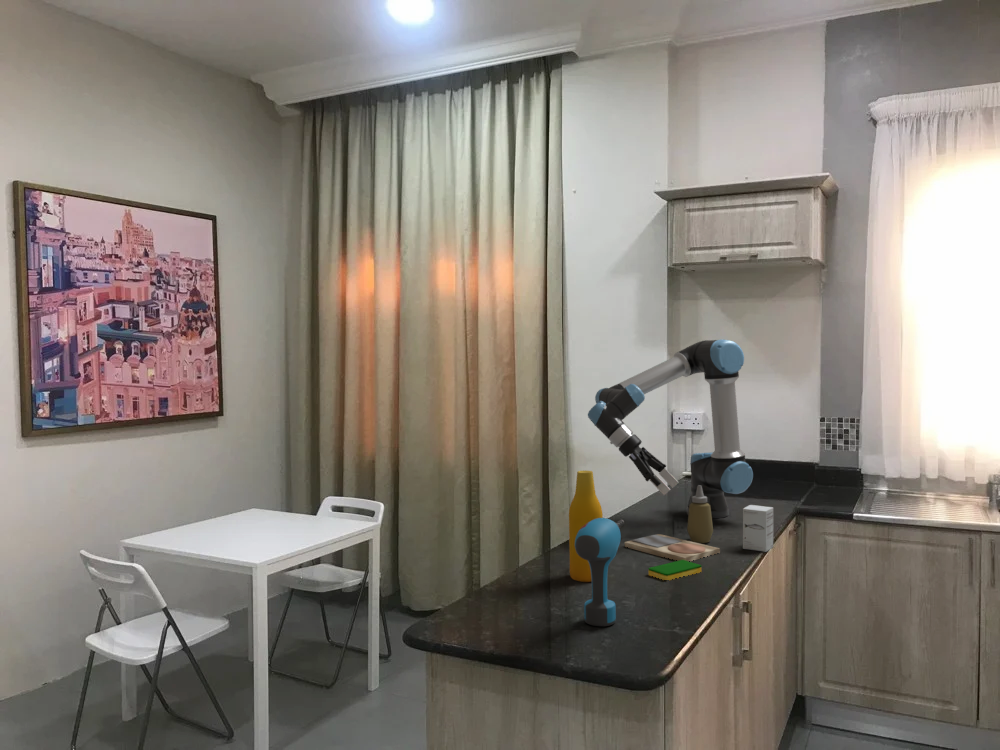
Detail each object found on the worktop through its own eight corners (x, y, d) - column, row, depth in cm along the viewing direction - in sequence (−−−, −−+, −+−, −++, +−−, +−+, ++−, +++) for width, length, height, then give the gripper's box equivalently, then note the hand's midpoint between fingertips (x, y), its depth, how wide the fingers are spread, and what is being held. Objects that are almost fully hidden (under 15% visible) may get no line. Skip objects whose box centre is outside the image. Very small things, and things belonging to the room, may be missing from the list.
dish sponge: (647, 576, 209) (647, 567, 209) (683, 567, 217) (683, 559, 217) (666, 582, 203) (666, 573, 203) (702, 573, 211) (702, 565, 211)
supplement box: (742, 549, 234) (741, 508, 233) (750, 544, 240) (750, 504, 239) (766, 552, 229) (766, 511, 229) (774, 547, 235) (773, 506, 235)
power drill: (606, 595, 192) (605, 503, 192) (640, 599, 189) (639, 506, 188) (567, 633, 167) (565, 528, 166) (605, 639, 163) (603, 531, 163)
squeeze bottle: (714, 539, 247) (713, 483, 246) (712, 545, 239) (711, 488, 238) (688, 537, 249) (687, 482, 249) (686, 543, 242) (685, 487, 241)
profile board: (659, 538, 249) (659, 533, 249) (719, 553, 230) (719, 547, 229) (624, 546, 239) (624, 541, 239) (684, 562, 220) (684, 556, 220)
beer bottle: (610, 578, 207) (609, 472, 206) (583, 584, 202) (582, 475, 201) (589, 570, 215) (587, 467, 214) (562, 576, 210) (561, 471, 209)
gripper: (627, 444, 265) (671, 489, 259) (607, 453, 242) (655, 503, 236) (642, 429, 263) (686, 475, 257) (623, 437, 240) (672, 487, 234)
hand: (671, 488), depth 247 cm, fingers open, 13 cm apart
